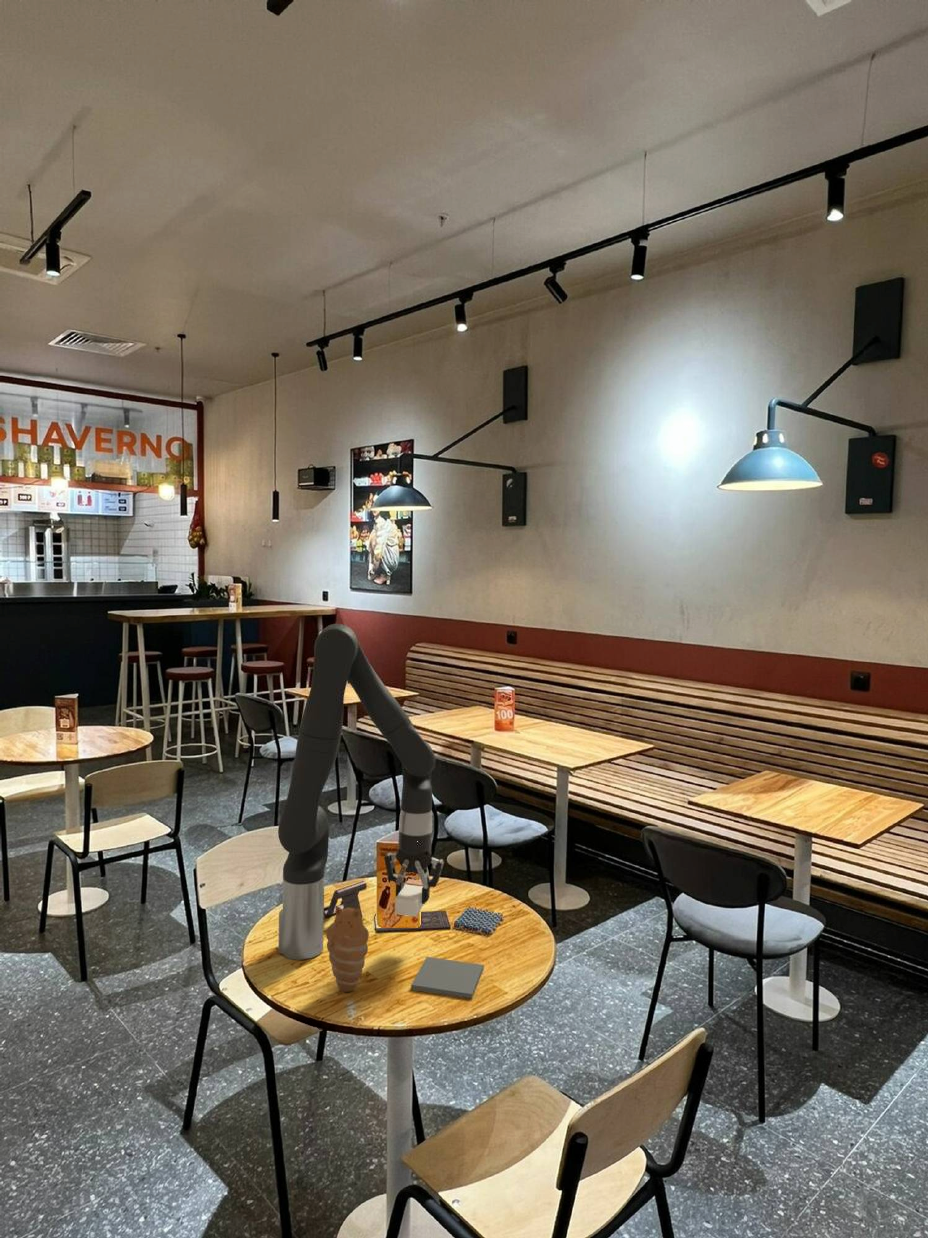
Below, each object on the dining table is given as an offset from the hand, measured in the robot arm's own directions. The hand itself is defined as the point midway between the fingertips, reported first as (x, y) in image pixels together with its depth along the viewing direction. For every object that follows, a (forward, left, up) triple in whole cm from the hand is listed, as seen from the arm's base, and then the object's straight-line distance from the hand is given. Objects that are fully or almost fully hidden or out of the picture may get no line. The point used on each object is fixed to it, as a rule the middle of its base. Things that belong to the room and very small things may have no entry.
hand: (412, 900), depth 176 cm
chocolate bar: (-4, +13, -12) cm, 18 cm away
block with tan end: (0, 0, -1) cm, 1 cm away
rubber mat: (+11, -10, -11) cm, 19 cm away
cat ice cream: (-8, -20, -12) cm, 25 cm away
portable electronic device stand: (-21, +12, -12) cm, 27 cm away
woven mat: (+12, +17, -12) cm, 24 cm away
